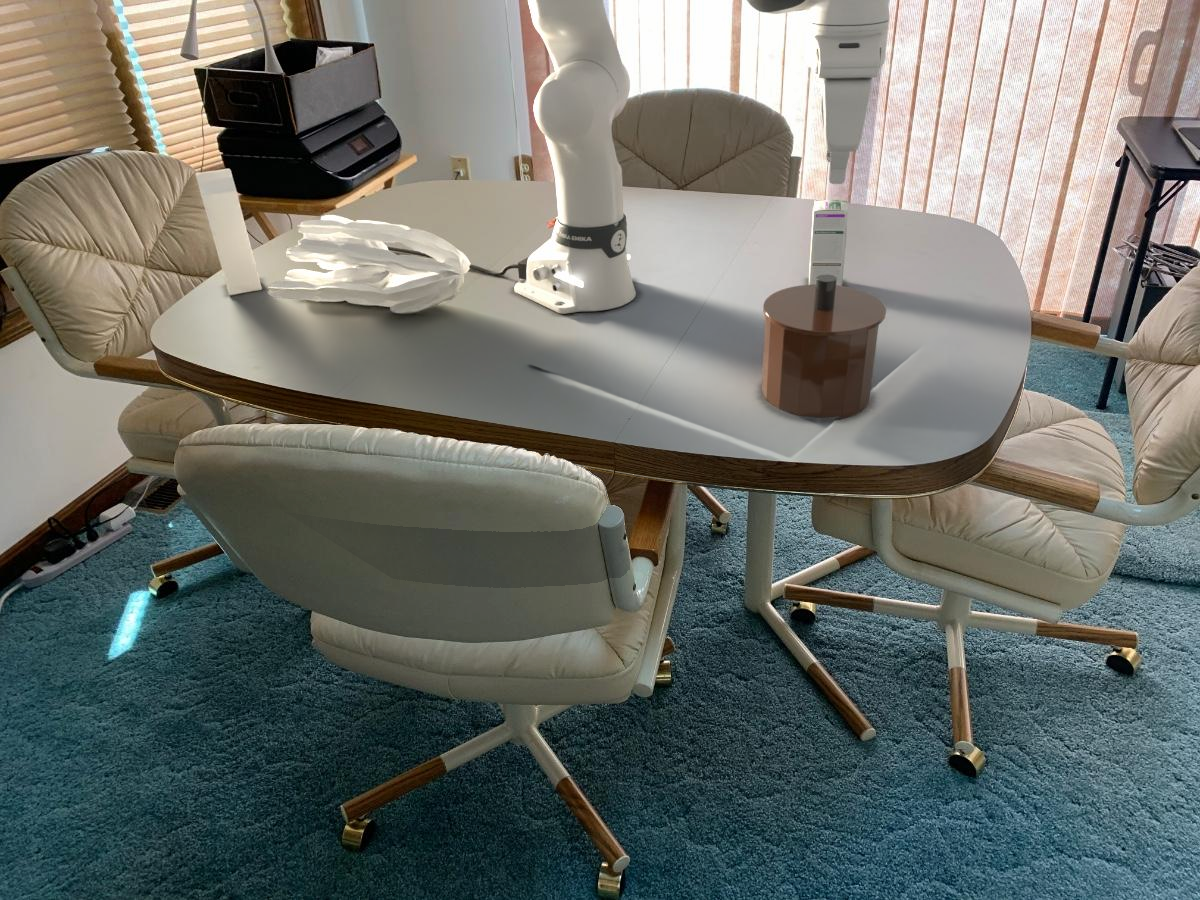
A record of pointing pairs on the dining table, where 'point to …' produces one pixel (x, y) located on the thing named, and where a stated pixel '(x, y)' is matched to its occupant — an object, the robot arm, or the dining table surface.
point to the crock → (818, 372)
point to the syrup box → (828, 239)
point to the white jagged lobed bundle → (372, 266)
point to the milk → (229, 231)
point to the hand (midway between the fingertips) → (834, 171)
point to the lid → (824, 309)
